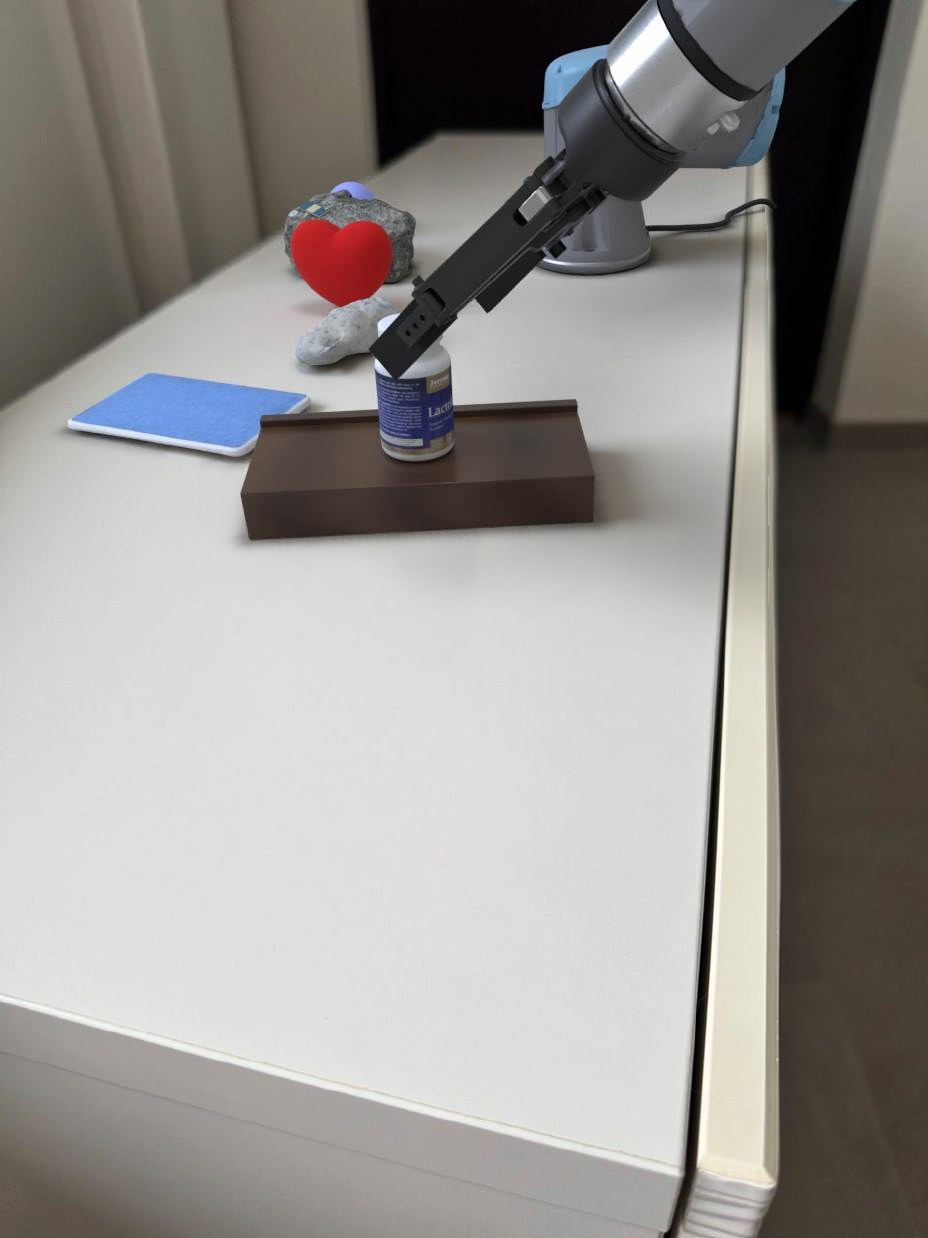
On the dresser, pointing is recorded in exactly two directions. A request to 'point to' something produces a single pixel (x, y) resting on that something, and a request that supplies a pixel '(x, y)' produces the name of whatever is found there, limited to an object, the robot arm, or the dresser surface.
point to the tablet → (188, 413)
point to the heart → (342, 259)
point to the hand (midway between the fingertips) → (433, 328)
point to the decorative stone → (344, 332)
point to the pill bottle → (416, 405)
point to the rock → (349, 209)
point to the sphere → (355, 190)
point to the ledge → (419, 473)
